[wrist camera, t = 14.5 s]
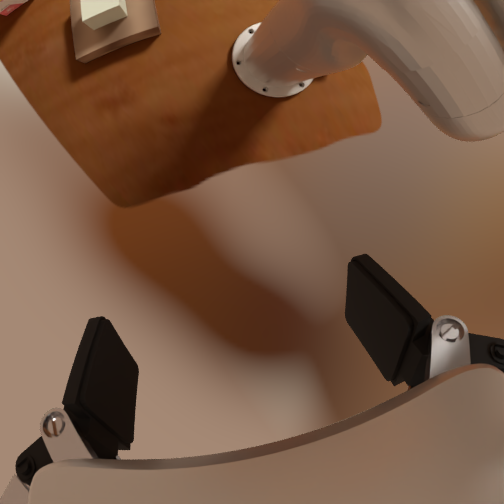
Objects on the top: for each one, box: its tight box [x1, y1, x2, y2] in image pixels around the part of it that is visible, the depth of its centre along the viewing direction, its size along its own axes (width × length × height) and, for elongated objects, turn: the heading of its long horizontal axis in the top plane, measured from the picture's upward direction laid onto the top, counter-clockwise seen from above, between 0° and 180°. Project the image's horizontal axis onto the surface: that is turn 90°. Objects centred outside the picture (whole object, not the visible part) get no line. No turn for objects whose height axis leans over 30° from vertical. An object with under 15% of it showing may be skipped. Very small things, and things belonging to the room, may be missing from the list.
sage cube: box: [81, 0, 127, 30], centre depth 18 cm, size 5×5×4 cm
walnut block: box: [70, 0, 161, 63], centre depth 22 cm, size 12×12×4 cm
